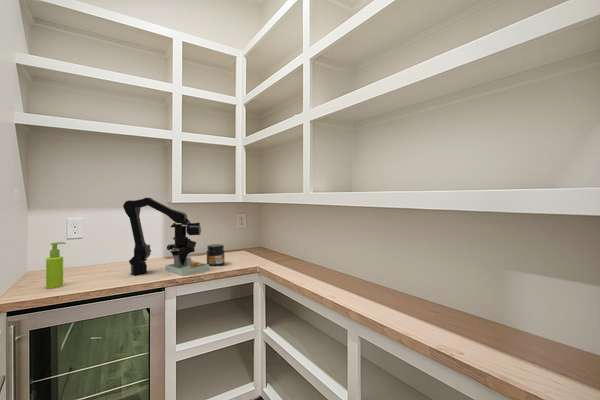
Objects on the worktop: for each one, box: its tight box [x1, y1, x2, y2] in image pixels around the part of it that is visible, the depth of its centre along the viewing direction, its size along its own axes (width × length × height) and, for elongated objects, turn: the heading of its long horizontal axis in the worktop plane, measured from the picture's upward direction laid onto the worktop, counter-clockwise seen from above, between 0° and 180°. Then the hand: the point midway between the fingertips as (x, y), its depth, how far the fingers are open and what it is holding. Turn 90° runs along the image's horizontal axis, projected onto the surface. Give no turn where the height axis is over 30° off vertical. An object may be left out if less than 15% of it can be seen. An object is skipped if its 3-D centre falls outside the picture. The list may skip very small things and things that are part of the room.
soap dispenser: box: [45, 241, 67, 289], centre depth 129 cm, size 6×7×20 cm
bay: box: [164, 260, 210, 277], centre depth 155 cm, size 16×19×4 cm
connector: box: [173, 255, 192, 268], centre depth 153 cm, size 8×4×6 cm, turn 141°
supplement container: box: [206, 243, 226, 267], centre depth 170 cm, size 10×10×12 cm
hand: (180, 264), depth 152 cm, fingers closed on connector, 4 cm apart
